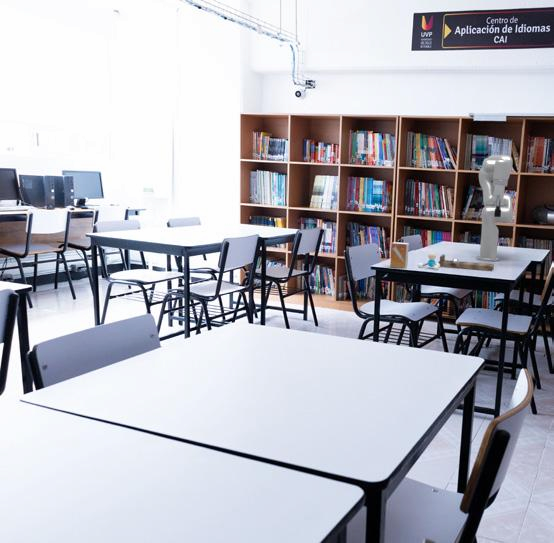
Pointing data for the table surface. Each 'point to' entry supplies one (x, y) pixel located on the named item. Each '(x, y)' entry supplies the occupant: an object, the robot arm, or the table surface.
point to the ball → (455, 261)
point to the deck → (465, 265)
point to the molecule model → (431, 262)
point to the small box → (399, 255)
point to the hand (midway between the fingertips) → (497, 216)
